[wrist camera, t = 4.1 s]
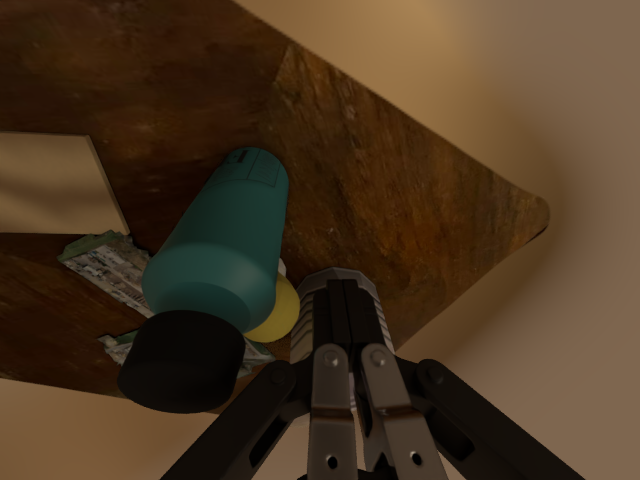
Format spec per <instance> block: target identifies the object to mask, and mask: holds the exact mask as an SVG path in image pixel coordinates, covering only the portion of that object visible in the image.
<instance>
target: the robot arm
mask: <svg viewBox="0 0 640 480" xmlns="http://www.w3.org/2000/svg"><path fill="white" fill-rule="evenodd" d="M312 348H313V350H312V352H311V353H310V355H309V356H308V357H306V358H305V359H303V360H301V361H299V362H296V363H293V364H290V363H289V362H287V361H284V360H276V361H273V362H271V363H269V364H267V365H266V366H265V367H264V368H263V369H262V371H261V372H260V373H259V374H258V375H257V376H256V377H255V378H254V379H253V380H252V381H251V382H250V383H249V384H248V385H247V387H246V388H245V389H244V390H243V391H242V392H241V393H240V394H239V395H238V396H237V397H236V398H235V399H234V400H233V402H232V403H231V404H230V405H229V406H228V407H227V408H226V409H225V410H224V411H223V412H222V413H221V414H220V415H219V417H218V418H217V419H216V420H215V421H214V422H213V423H212V424H211V425H210V426H209V427H208V428H207V429H206V430H205V432H204V433H203V434H202V435H201V436H200V437H199V438H198V439H197V440H196V441H195V442H194V443H193V444H192V445H191V446H190V448H189V449H188V450H187V451H186V452H185V453H184V454H183V455H182V456H181V457H180V458H179V459H178V460H177V461H176V463H175V464H174V465H173V466H172V467H171V468H170V469H169V470H168V471H167V472H166V473H165V474H164V475H163V476H162V477H161V479H160V480H251V479H252V478H253V476H254V475H255V473H256V472H257V470H258V469H259V468H260V466H261V465H262V464H263V462H264V461H265V459H266V458H267V457H268V455H269V454H270V452H271V451H272V450H273V448H274V447H275V445H276V444H277V442H278V441H279V440H280V438H281V437H282V436H283V434H284V433H285V431H286V430H287V429H288V427H289V426H290V424H291V423H292V422H293V420H294V419H295V418H297V417H300V416H302V415H304V414H307V413H309V412H310V426H309V443H308V444H309V445H308V462H307V474H305V475H303V476H302V477H300V478H298V479H297V480H449V479H448V477H447V474H446V472H445V469H444V467H443V464H442V462H441V459H440V456H439V454H438V451H439V452H440V453H441V454H442V455H443V456H444V457H445V458H446V459H447V460H448V461H449V462H450V463H451V464H452V465H453V466H454V467H455V468H456V469H457V470H458V471H459V472H460V474H461V475H462V476H463V477H464V478H465V479H466V480H585V479H584V478H583V477H582V476H580V475H579V474H578V473H577V472H575V471H574V470H573V469H572V468H571V467H569V466H568V465H566V463H564V462H563V461H562V460H561V459H559V458H558V457H557V456H556V455H554V454H553V453H552V452H551V451H549V450H548V449H547V448H546V447H544V446H543V445H542V444H541V443H540V442H538V441H537V440H536V439H535V438H533V437H532V436H531V435H530V434H528V433H527V432H526V431H525V430H523V429H522V428H521V427H520V426H518V425H517V424H516V423H515V422H514V421H512V420H511V419H510V418H509V417H507V416H506V415H505V414H504V413H502V412H501V411H500V410H499V409H497V408H496V407H495V406H494V405H492V404H491V403H490V402H489V401H487V400H486V399H485V398H484V397H483V396H481V395H480V394H479V393H477V392H476V391H475V390H474V389H473V388H471V387H470V386H469V385H467V384H466V383H465V382H464V381H463V380H461V379H460V378H459V377H458V376H456V375H455V374H454V373H453V372H451V371H450V370H449V369H448V368H447V367H445V366H444V365H443V364H441V363H440V362H438V361H436V360H433V359H424V360H422V361H420V362H419V363H418V364H417V363H414V362H411V361H407V360H404V359H401V358H399V357H397V356H396V355H394V354H393V353H392V352H391V350H390V349H389V348H388V347H387V345H386V342H385V339H384V335H383V332H382V328H381V324H380V321H379V317H378V313H377V310H376V306H375V302H374V299H373V297H372V295H371V294H370V293H369V292H368V290H359V287H358V282H357V280H356V279H342V280H341V279H327V281H326V289H317V290H316V292H315V294H314V296H313V304H312ZM349 373H353V378H354V385H353V394H354V399H355V404H356V408H357V413H358V418H359V423H360V427H361V432H362V437H363V443H364V461H365V466H366V471H364V470H361V469H357V456H356V441H355V427H354V418H353V414H352V413H351V403H350V386H349ZM437 450H438V451H437Z"/></svg>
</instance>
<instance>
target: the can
mask: <svg viewBox="0 0 640 480" xmlns="http://www.w3.org/2000/svg"><path fill="white" fill-rule="evenodd" d="M327 279H341V280H342V279H356V280H357V282H358V287H359V290H368V292H369V293H370V294H371V295H372V297H373V299H374V302H375V306H376V310H377V313H378V317H379V321H380V324H381V328H382V332H383V335H384V339H385V342H386V345H387V347H388V348H389V349H390V350H391V352H392V353H393V354H394V355H395V352H394V349H393V346H392V342H391V339H390V335H389V332H388V329H387V325H386V322H385V318H384V315H383V312H382V308H381V305H380V301H379V298H378V295H377V291H376V288H375V285H374V284H373V283H372V282H371V281H370V280H369V279H368V278H367V277H365V276H364V275H363V274H362V273H361V272H360V271H358V270H351V269H345V268H338V267H330V268H327V269H324V270H321V271H318V272H315V273H313V274H310V275H307V276H306V277H305V278H304V280H303V281H302V282H301V284H300V285H299V286H298V288H297V289H296V290H295V291H296V292H297V294H298V297H299V299H300V310H299V316H298V319H297V321H296V323H295V325H294V326H293V328H292V336H291V355H290V364H293V363H296V362H299V361H301V360H303V359H305V358H306V357H308V356H309V355H310V353H311V352H312V350H313V348H312V304H313V296H314V294H315V292H316V290H317V289H326V281H327ZM353 385H354V378H353V373H349V386H350V403H351V411H354V410H357V408H356V404H355V399H354V394H353Z"/></svg>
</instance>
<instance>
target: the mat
mask: <svg viewBox="0 0 640 480" xmlns="http://www.w3.org/2000/svg"><path fill="white" fill-rule="evenodd" d="M110 229H111V230H113V231H114V232H115V233H117V232H119V231H120V232H121V233H122V234H123V235H128V234H129V233H130V230H129V228H128V225H127V223H126V221H125V218H124V216H123V214H122V211H121V209H120V207H119V204H118V202H117V200H116V197H115V195H114V193H113V190H112V188H111V186H110V183H109V181H108V179H107V176H106V174H105V172H104V169H103V167H102V165H101V162H100V160H99V158H98V155H97V153H96V150H95V148H94V146H93V143H92V141H91V139H90V136H89V135H78V134H56V133H35V132H14V131H0V232H15V233H59V234H90V233H91V234H103V233H105V232H107V231H109V230H110Z"/></svg>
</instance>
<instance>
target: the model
mask: <svg viewBox="0 0 640 480" xmlns="http://www.w3.org/2000/svg"><path fill="white" fill-rule="evenodd" d="M56 258H57V259H58V261H60V262H61V263H63V264H64V265H66V266H67V267H69V268H71V269H72V270H74V271H76V272H77V273H79V274H81V275H82V276H83V277H85V278H87V279H88V280H89V281H91V282H92V283H94V284H95V285H97V286H98V287H99V288H101V289H102V290H104V291H105V292H107V293H108V294H109V295H111V296H112V297H114V298H115V299H117V300H118V301H119V302H121V303H122V302H125V303H126V304H127V305H128V306H130V307H133V308H134V309H136V310H137V311H139V312H140V313H142V314H143V315H144V316H146V317H147V318H150V317H151V316H153V315H154V313H153V312H152V310H151V309H150V307H149V306H148V304H147V302H146V300H145V298H144V295H143V292H142V288H141V280H142V274H143V272H144V269H145V267H146V266H147V264H148V262H149V261H150V260H151V259H152V258H153V257H149V256H148V251H145V250H140V249H137V247H136V246H135V247H134V245H133V243H132V237H131V236H126V235H123V234H122V233H121V232H120V231H119V232H117V233H115V232H114V231H113V230H111V229H110V230H109V231H107V232H105V233H103V234H101V235H99V236H97V237H95V236H94V235H93V234H91V233H90V234H88V235H86V236H84V237H82V238H81V239H79V240H77V241H75V242H73V243H71V244H69V245H67V246H65V249H64V251H63V254H61V255H59V256H57V257H56ZM138 331H139V329H138V330H136V331H133V332H131V333H128V334H125V335H123V336H120V337H119V336H118V337H117V338H115V339H113V338H112V337H110V336H108V335H106V336H104V337H101V338H98V339H97V340H99V341H101V342H103V344H104V345H105V346H104V350H105V351H106V353H108V354H110V355H111V357H112V358H113V359H112V360H114V361H116V362H118V364H119V363H120V364H121V366H122V365H123V363H124V361H125V359H126V357H127V355H128V353H129V351H130V349H131V347H132V343H133V340H134V338H135V336H136V334H137V332H138ZM243 337H244V339H245V343H246V349H245V354H244V359H243V362H242V365H241V367H240V369H239V372H238V376H237V378H240V377H243V376H246V375H250V374H253V373H251V371H252V367H253V366H257V365H260V364H263V363H266V362H270V361H271V362H273V361H275V356H274V355H272V354H271V353H270V352H269V351H268V350H267V349H266V348H265V347H264V346H263V345H262V344H260V343H259V342H257V341H253V340H250V339H248V338H247V337H245V336H244V335H243ZM118 364H117V365H118ZM255 373H256V372H255Z"/></svg>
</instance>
